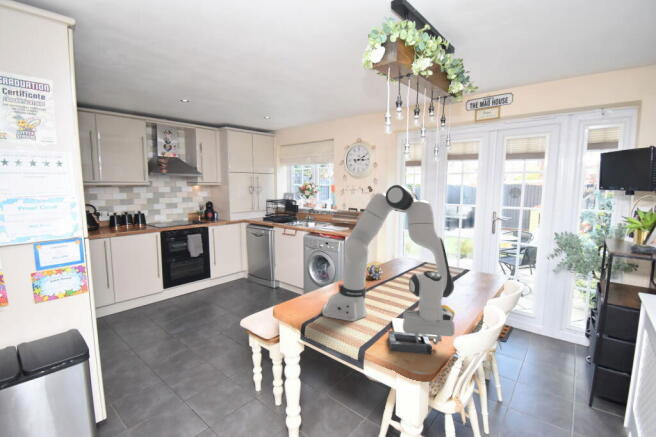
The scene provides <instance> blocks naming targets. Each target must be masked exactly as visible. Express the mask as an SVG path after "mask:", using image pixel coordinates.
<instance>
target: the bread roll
mask: <svg viewBox="0 0 656 437" xmlns="http://www.w3.org/2000/svg"><path fill="white" fill-rule="evenodd" d="M442 307H443V308H446V309H448V310H449V311H450V312H451V313H452V315H453V317H454V316H455V311H454V310H453V309H451V307H449V306H448V305H445V304H442Z"/></svg>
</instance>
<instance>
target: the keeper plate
mask: <svg viewBox="0 0 656 437" xmlns="http://www.w3.org/2000/svg"><path fill="white" fill-rule="evenodd" d="M403 320H404V319H403V318H398V317H397V318H396V317H391V320H390V321H391V325H392V329H393V330H392V331H394V332H404V330H403ZM405 333H406V332H405ZM427 337H428V339H429V340H433V339H435V338H436V337H437V335H428V334H427ZM442 338H443V336H441V338H440V340H441V341H442ZM440 340H439V341H440Z"/></svg>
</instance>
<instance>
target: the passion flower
mask: <svg viewBox="0 0 656 437" xmlns="http://www.w3.org/2000/svg"><path fill="white" fill-rule="evenodd" d="M366 272H368V275H369V277H372V279H373V280H376V281H377V280H379V278H382V273H384V272H383V270H382V268H381V267H380V266H378V264H374V263H371V265H370V266H367V268H366Z"/></svg>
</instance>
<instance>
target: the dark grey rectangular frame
mask: <svg viewBox="0 0 656 437" xmlns="http://www.w3.org/2000/svg"><path fill="white" fill-rule="evenodd" d="M387 336H388V343H389V344H388V345H389V348H390V349H389V350H390V351H391V352H401V353H402V352H403V353H411V354H412V353H413V354H423V355H432V353H433V352H432V351H433V346H432V344H431V342H430V339H428V337H427V334H419V335H418V337H420V339H421V343H417V342H416V336H415V334H414V333H405V332H394V330H391V331H390V330H389V331H388V335H387Z"/></svg>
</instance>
